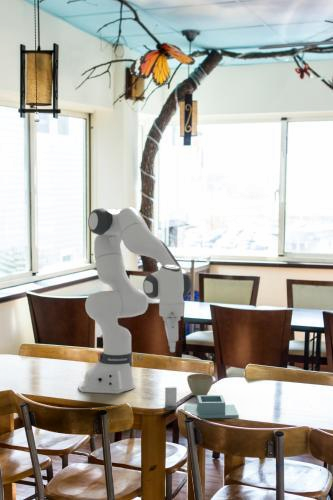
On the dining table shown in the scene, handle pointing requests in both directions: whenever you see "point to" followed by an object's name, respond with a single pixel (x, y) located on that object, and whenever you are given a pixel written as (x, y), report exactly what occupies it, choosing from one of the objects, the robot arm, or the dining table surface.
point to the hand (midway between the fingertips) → (171, 349)
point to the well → (212, 407)
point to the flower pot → (199, 383)
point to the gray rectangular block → (170, 398)
